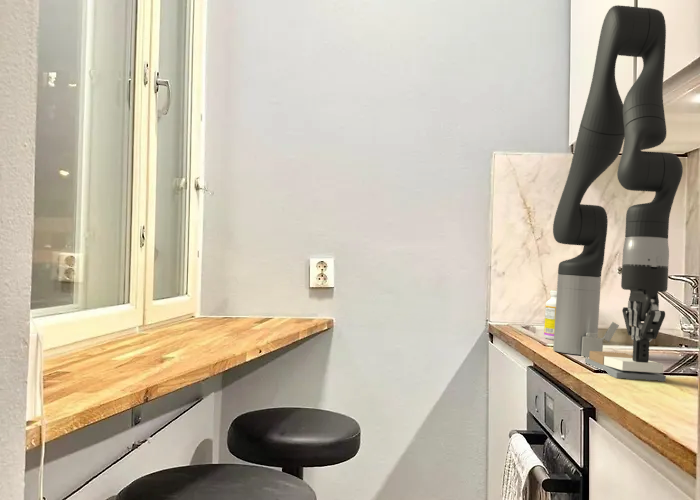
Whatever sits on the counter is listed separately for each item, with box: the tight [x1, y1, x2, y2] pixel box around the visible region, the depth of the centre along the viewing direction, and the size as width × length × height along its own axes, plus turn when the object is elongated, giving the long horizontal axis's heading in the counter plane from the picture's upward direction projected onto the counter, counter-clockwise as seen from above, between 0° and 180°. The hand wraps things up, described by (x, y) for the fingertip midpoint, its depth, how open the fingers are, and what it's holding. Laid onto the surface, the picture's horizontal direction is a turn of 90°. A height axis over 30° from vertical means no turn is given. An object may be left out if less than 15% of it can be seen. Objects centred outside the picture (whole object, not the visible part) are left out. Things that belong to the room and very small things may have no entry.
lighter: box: [580, 321, 620, 358], centre depth 147 cm, size 7×2×8 cm, turn 74°
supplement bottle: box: [543, 289, 557, 341], centre depth 182 cm, size 7×7×13 cm
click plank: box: [604, 356, 664, 374], centre depth 124 cm, size 9×7×2 cm
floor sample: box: [584, 351, 667, 382], centre depth 128 cm, size 17×8×3 cm, turn 179°
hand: (640, 362), depth 121 cm, fingers closed
